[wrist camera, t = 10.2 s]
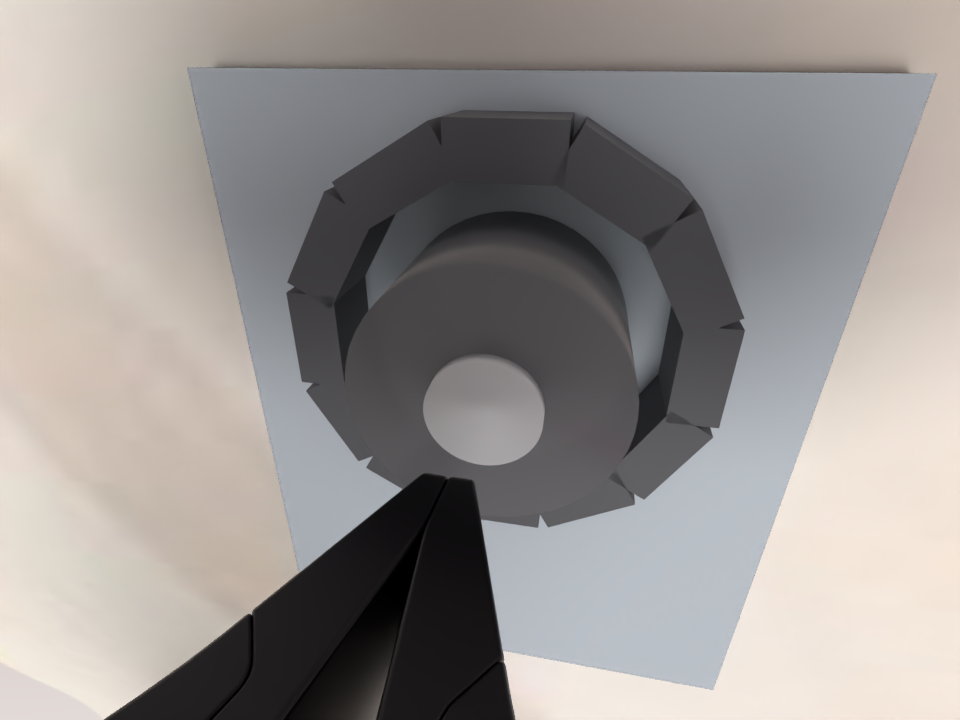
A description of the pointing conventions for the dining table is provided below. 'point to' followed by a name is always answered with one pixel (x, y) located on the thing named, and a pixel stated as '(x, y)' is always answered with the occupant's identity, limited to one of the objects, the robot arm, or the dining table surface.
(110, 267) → the dining table surface
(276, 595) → the robot arm
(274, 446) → the barrel board
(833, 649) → the dining table surface
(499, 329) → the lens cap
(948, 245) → the dining table surface
